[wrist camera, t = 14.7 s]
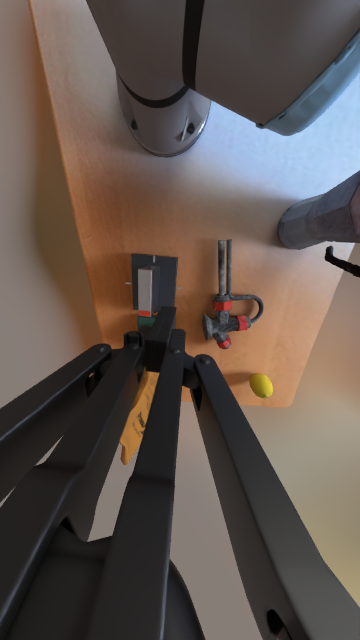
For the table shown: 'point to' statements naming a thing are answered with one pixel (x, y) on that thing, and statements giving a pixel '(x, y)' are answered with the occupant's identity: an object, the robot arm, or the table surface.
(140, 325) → the drain button box
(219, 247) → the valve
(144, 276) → the tap lever
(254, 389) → the lemon
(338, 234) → the moka pot
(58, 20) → the table surface
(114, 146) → the table surface
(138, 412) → the coffee package
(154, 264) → the base
